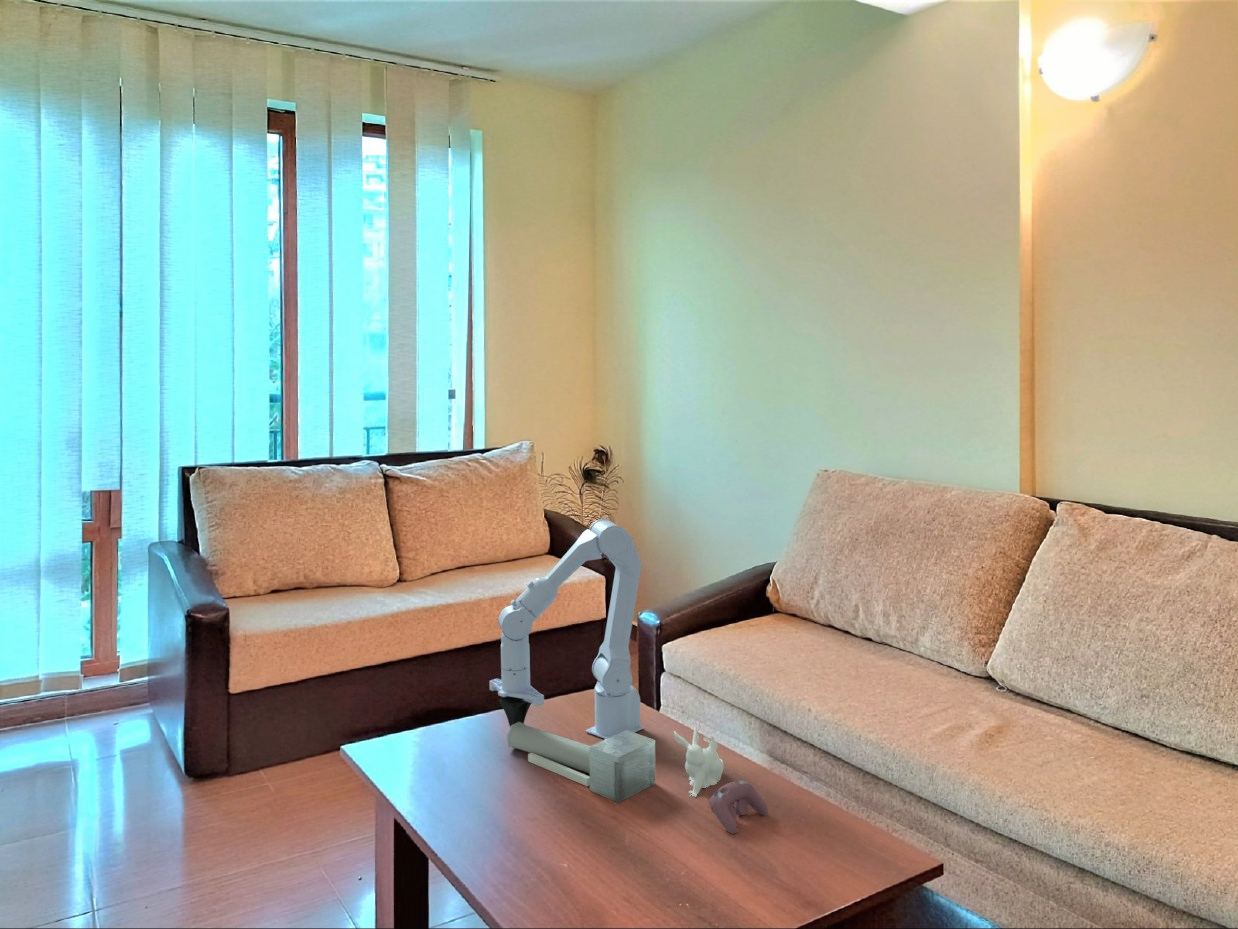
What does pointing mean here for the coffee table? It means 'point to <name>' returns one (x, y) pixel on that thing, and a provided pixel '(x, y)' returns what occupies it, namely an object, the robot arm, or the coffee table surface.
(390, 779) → the coffee table surface
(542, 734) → the tube
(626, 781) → the socket
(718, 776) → the rabbit figurine
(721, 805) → the video game controller
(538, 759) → the rails
